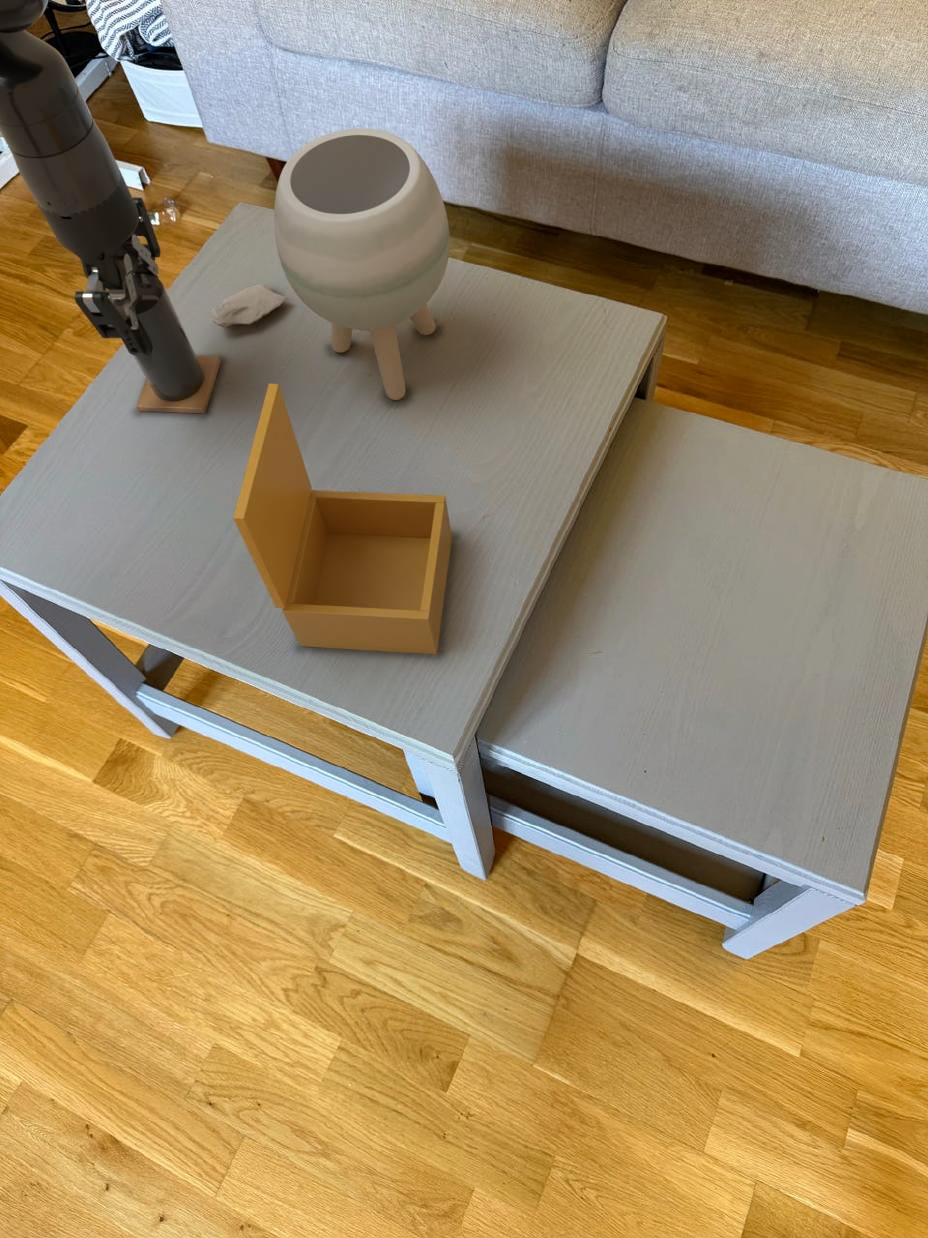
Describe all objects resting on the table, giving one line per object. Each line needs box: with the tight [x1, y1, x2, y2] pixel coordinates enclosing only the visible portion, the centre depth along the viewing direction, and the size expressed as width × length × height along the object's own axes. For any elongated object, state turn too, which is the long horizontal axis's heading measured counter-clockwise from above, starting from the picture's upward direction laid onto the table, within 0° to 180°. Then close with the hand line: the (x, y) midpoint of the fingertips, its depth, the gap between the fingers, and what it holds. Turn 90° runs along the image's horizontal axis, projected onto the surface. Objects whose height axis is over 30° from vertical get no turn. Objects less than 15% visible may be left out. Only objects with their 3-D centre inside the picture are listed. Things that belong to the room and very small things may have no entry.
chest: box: [281, 489, 453, 655], centre depth 82 cm, size 13×13×7 cm
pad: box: [136, 355, 222, 414], centre depth 98 cm, size 8×8×1 cm
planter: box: [273, 128, 451, 401], centre depth 89 cm, size 16×16×22 cm
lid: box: [232, 383, 313, 609], centre depth 73 cm, size 14×13×1 cm
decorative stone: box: [210, 283, 288, 328], centre depth 102 cm, size 9×6×3 cm, turn 123°
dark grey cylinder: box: [107, 274, 204, 401], centre depth 93 cm, size 6×6×12 cm
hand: (151, 328), depth 91 cm, fingers closed on dark grey cylinder, 5 cm apart
